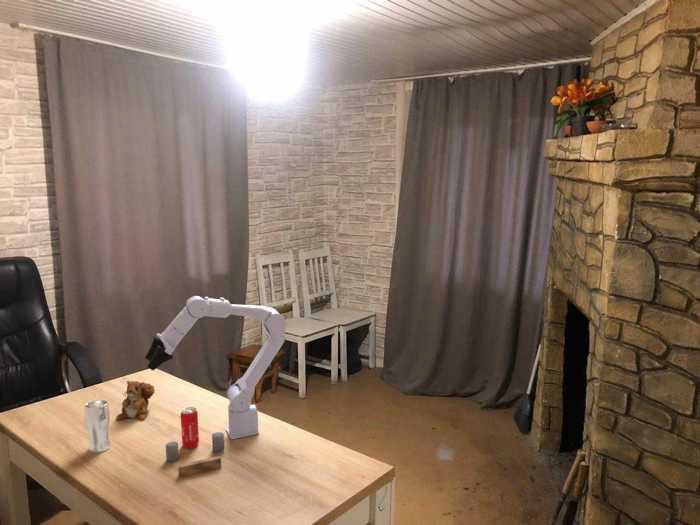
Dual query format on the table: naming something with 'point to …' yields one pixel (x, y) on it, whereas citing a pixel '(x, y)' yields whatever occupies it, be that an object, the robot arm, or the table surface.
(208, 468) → the walnut rail
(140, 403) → the stuffed squirrel
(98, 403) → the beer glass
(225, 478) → the table surface
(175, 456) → the bollard
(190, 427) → the beverage can
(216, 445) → the bollard
